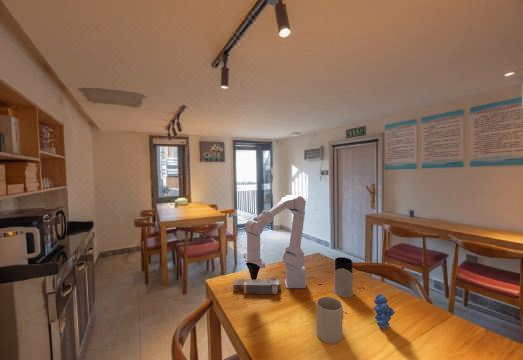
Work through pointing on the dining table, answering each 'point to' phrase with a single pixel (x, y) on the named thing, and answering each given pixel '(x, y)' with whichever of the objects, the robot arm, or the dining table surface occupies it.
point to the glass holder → (343, 277)
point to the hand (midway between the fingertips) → (253, 279)
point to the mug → (329, 320)
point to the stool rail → (239, 283)
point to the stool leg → (260, 288)
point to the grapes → (382, 311)
